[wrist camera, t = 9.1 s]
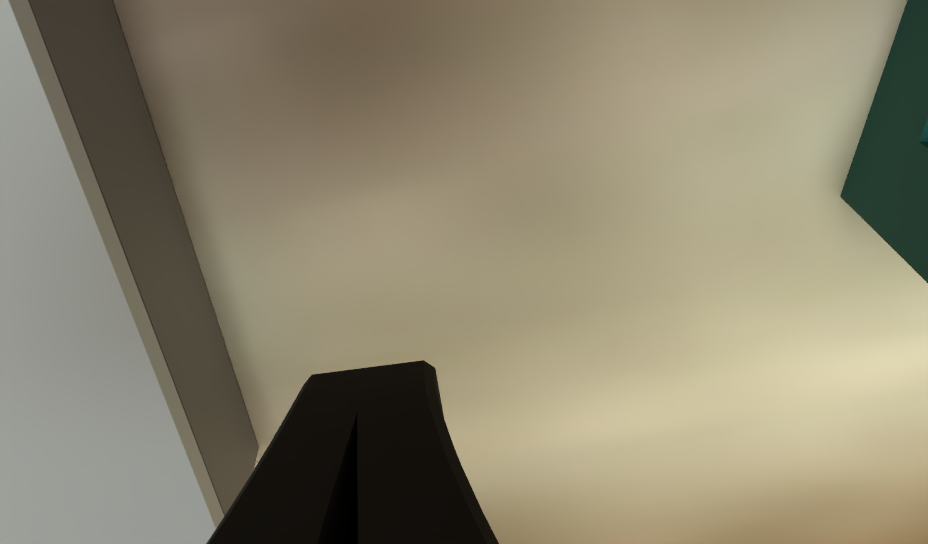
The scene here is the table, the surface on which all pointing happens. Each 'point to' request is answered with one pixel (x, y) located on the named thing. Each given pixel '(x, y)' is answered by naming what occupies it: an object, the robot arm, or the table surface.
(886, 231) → the bracket
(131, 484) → the duct lid
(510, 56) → the table surface
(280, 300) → the table surface
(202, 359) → the cable duct
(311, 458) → the robot arm
